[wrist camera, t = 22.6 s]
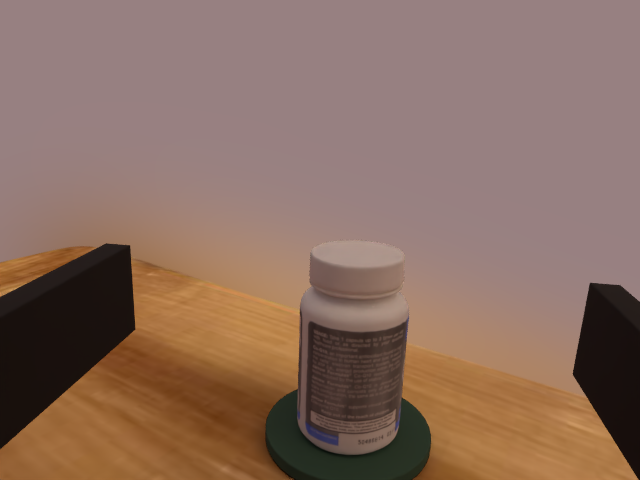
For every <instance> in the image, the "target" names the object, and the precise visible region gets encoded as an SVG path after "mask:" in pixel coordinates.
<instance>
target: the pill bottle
mask: <svg viewBox="0 0 640 480" xmlns="http://www.w3.org/2000/svg"><path fill="white" fill-rule="evenodd" d="M404 263H405V256H404V254H403V252H402V251H401V250H399V249H398V248H396V247H393V246H390V245H387V244H383V243H378V242H372V241H363V240H340V241H332V242H326V243H323V244H320V245H317V246H315V247H314V248H313V249H312V251H311V255H310V284H311V285H312V287H310V288H309V289H308V290H307V291H306V292H305V293H304V295H303V297H302V299H301V304H300V337H299V372H298V402H297V419H298V424H299V427H300V430H301V431H302V433H303V434H304V435H305V437H306V438H307V439H308V440H310V441H311V442H312V443H313V444H315V445H316V446H318V447H319V448H321V449H324V450H326V451H329V452H333V453H337V454H345V455H360V454H366V453H370V452H373V451H376V450H379V449H381V448H383V447H385V446H387V445H388V444H389V443H390V442H391V441H392V440H393V439H394V438H395V436H396V434H397V431H398V428H399V420H400V411H401V400H402V386H403V377H404V364H405V352H406V341H407V330H408V321H409V306H408V303H407V300H406V298H405V297H404V296H403V295H402V294H401V293H400V292H399V291H400V290H401V289H402V287H403V281H404Z"/></svg>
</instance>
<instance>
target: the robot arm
mask: <svg viewBox="0 0 640 480" xmlns="http://www.w3.org/2000/svg"><path fill="white" fill-rule="evenodd" d="M134 330H135V316H134V300H133V284H132V268H131V254H130V245H118V244H104V245H102V246H101V247H99V248H96V249H94V250H92V251H91V252H89V253H87V254H85V255H83V256H81V257H79V258H77V259H75V260H73V261H71V262H69V263H67V264H65V265H63V266H61V267H59V268H57V269H55V270H53V271H51V272H49V273H47V274H45V275H43V276H41V277H39V278H37V279H35V280H33V281H31V282H29V283H27V284H25V285H23V286H21V287H19V288H17V289H15V290H13V291H11V292H9V293H7V294H5V295H3V296H1V297H0V449H1V448H2V447H3V446H4V445H6V444H7V443H8V442H9V441H10V440H11V439H12V438H13V437H15V436H16V435H17V434H18V433H19V432H20V431H21V430H22V429H24V428H25V427H26V426H27V425H28V424H29V423H30V422H31V421H33V420H34V419H35V418H36V417H37V416H38V415H39V414H40V413H42V412H43V411H44V410H45V409H46V408H47V407H48V406H50V405H51V404H52V403H53V402H54V401H55V400H56V399H57V398H59V397H60V396H61V395H62V394H63V393H64V392H65V391H66V390H68V389H69V388H70V387H71V386H72V385H73V384H74V383H75V382H77V381H78V380H79V379H80V378H81V377H82V376H83V375H84V374H86V373H87V372H88V371H89V370H90V369H91V368H92V367H93V366H95V365H96V364H97V363H98V362H99V361H100V360H101V359H102V358H104V357H105V356H106V355H107V354H108V353H109V352H110V351H111V350H113V349H114V348H115V347H116V346H117V345H118V344H119V343H121V342H122V341H123V340H124V339H125V338H126V337H127V336H128V335H130V334H131V333H132V332H133V331H134ZM573 376H574V377H575V379H576V380H577V382H578V383H579V385H580V387H581V388H582V390H583V392H584V393H585V395H586V396H587V398H588V400H589V401H590V403H591V404H592V406H593V408H594V409H595V411H596V412H597V414H598V416H599V417H600V419H601V420H602V422H603V424H604V425H605V427H606V428H607V430H608V432H609V433H610V435H611V436H612V438H613V440H614V441H615V443H616V444H617V446H618V448H619V449H620V451H621V452H622V454H623V455H624V457H625V459H626V460H627V462H628V463H629V465H630V467H631V468H632V470H633V471H634V473H635V475H636V476H637V478H638V479H639V480H640V302H639V301H638V300H637V299H636V298H634V297H633V296H632V295H631V294H629V292H627V291H626V290H625V289H624V288H623V287H621V286H620V285H609V284H598V283H590V285H589V291H588V296H587V301H586V306H585V312H584V317H583V322H582V327H581V333H580V338H579V344H578V349H577V354H576V359H575V364H574V370H573Z"/></svg>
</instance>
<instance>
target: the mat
mask: <svg viewBox="0 0 640 480" xmlns="http://www.w3.org/2000/svg"><path fill="white" fill-rule="evenodd" d="M297 402H298V389H297V390H295V391H293V392H291V393H289V394H287V395H286V396H284V397H283V398H282V399H280V400H279V401H278V402H277V403H276V404H275V405H274V406H273V408H272V409H271V411H270V413H269V415H268V417H267V421H266V444H267V448H268V451H269V453H270V455H271V457H272V458H273V460H274V461H275V463H276V464H277V465H278V466H279V467H280V468H281V469H282V470H283V471H284V472H286V473H287V474H288V475H289V476H291V477H292V478H294V479H296V480H412V479H413V478H414V477H416V476H417V475H418V474H419V473H420V471H421V470H422V469H423V467H424V466H425V464H426V463H427V460H428V457H429V453H430V445H431V433H430V430H429V426H428V424H427V422H426V420H425V418H424V417H423V416H422V414H421V413H420V412H419V411H418V410H417V409H416V408H415V407H414V406H413V405H412V404H410V403H409V402H408V401H406V400H405V399H403V398H402V400H401V411H400V420H399V428H398V431H397V434H396V436H395V438H394V439H393V440H392V441H391V442H390V443H389V444H388V445H387V446H385V447H383V448H381V449H379V450H376V451H373V452H370V453H366V454H360V455H345V454H337V453H333V452H329V451H326V450H324V449H321V448H319V447H318V446H316V445H315V444H313V443H312V442H311V441H310V440H308V439H307V438H306V437H305V435H304V434H303V433H302V431H301V430H300V427H299V424H298V419H297Z"/></svg>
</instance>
